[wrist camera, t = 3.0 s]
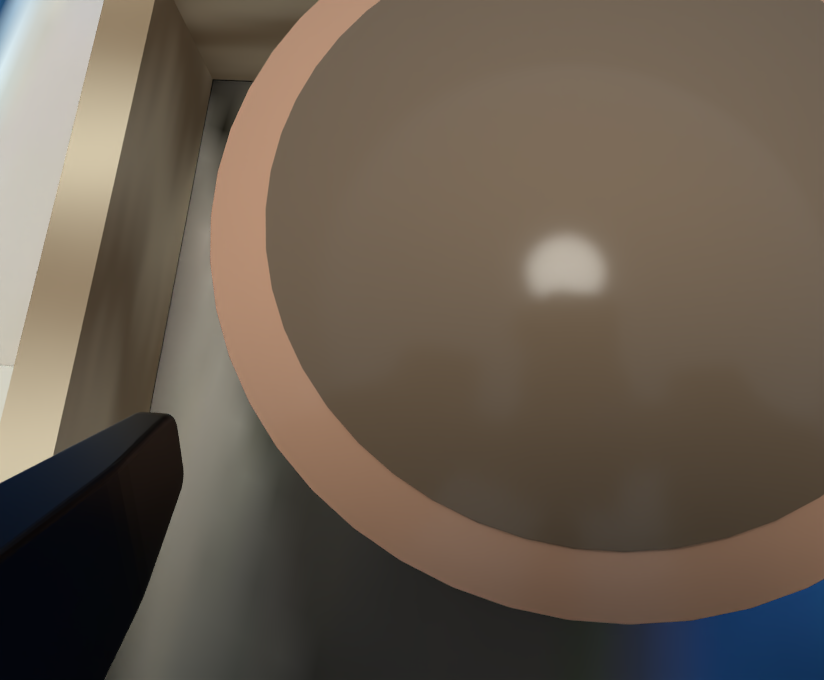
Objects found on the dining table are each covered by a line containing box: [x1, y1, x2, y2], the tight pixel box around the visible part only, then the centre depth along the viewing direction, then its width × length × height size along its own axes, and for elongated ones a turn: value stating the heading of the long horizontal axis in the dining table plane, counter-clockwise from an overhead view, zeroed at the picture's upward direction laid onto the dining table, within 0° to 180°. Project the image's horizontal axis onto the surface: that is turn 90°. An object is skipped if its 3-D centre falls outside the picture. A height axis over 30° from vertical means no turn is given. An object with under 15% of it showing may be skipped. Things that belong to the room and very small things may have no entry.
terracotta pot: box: [210, 0, 824, 624], centre depth 12 cm, size 7×7×13 cm
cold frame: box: [0, 0, 319, 483], centre depth 16 cm, size 18×20×7 cm
